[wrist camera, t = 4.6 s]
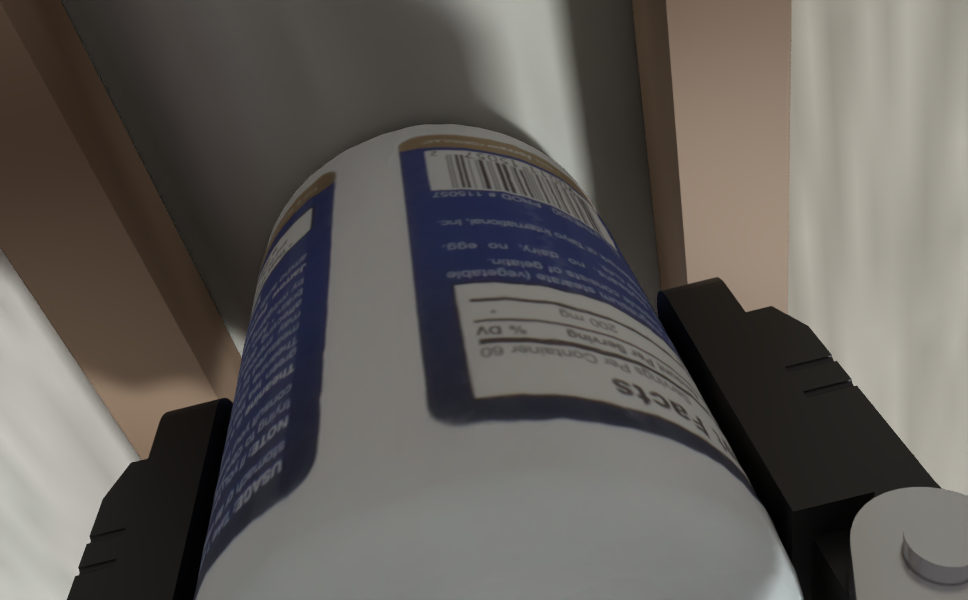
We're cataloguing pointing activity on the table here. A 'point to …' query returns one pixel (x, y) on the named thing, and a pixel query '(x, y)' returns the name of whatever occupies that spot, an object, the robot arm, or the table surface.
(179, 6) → the table surface
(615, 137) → the table surface
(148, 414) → the guide channel
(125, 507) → the robot arm
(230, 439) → the pill bottle
